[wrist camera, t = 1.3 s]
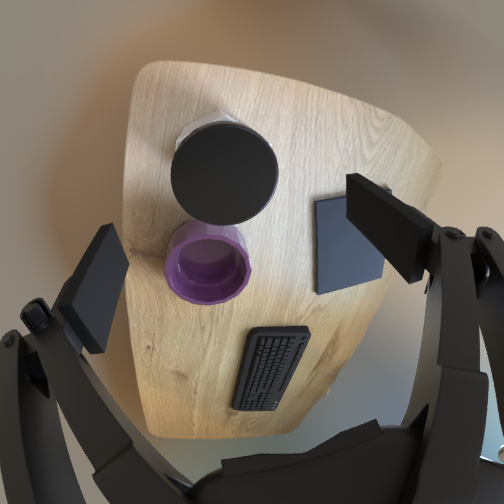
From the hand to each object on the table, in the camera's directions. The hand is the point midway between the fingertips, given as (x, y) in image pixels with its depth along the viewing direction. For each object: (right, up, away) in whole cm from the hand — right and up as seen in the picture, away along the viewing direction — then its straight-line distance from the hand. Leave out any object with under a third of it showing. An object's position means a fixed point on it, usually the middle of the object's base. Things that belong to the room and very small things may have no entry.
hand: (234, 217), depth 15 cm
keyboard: (+3, -27, +40) cm, 49 cm away
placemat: (+16, -1, +26) cm, 30 cm away
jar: (-3, +10, +16) cm, 19 cm away
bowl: (-5, -2, +22) cm, 23 cm away
